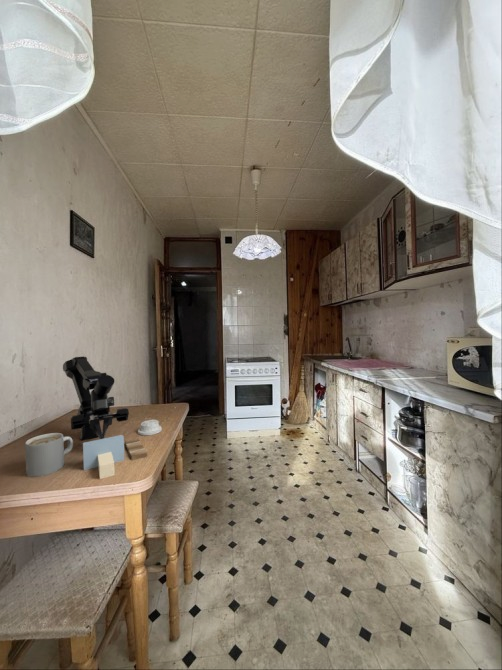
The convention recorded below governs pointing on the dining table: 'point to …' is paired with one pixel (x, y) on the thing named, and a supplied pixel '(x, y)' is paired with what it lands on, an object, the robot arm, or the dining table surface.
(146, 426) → the mechanical component
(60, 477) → the dining table surface
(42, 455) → the coffee mug
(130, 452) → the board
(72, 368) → the robot arm
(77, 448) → the dining table surface
